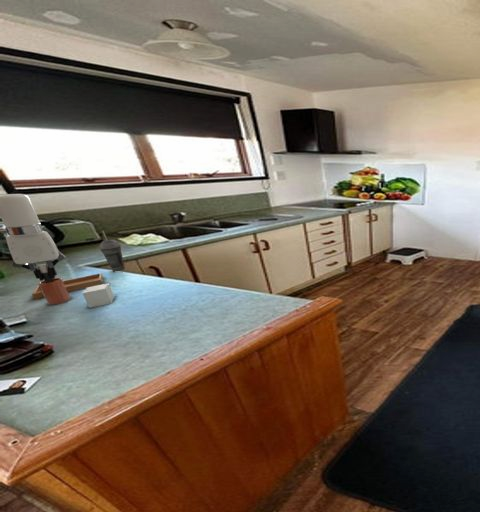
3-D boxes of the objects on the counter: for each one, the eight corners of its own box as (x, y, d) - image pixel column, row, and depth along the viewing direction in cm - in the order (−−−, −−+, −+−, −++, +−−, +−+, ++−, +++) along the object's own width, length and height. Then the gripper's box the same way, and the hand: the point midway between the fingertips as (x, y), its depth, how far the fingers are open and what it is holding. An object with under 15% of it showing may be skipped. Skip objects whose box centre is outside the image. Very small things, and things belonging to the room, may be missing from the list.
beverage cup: (114, 273, 130) (98, 233, 123) (105, 271, 132) (89, 232, 125) (132, 268, 136) (118, 229, 129) (123, 266, 138) (109, 228, 132)
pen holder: (47, 306, 100) (36, 285, 97) (49, 301, 104) (39, 280, 101) (69, 300, 104) (60, 280, 101) (71, 296, 108) (62, 276, 105)
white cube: (114, 297, 106) (109, 283, 104) (111, 302, 101) (105, 288, 99) (93, 301, 102) (87, 287, 101) (88, 308, 98) (82, 293, 96)
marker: (52, 300, 102) (36, 266, 97) (53, 298, 103) (37, 264, 99) (61, 298, 103) (45, 264, 99) (61, 296, 105) (46, 263, 100)
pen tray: (34, 299, 106) (31, 294, 105) (39, 291, 113) (36, 286, 112) (102, 284, 118) (100, 279, 117) (103, 277, 125) (101, 273, 124)
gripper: (-16, 236, 87) (10, 288, 93) (58, 228, 97) (78, 275, 103) (-9, 232, 92) (16, 282, 98) (61, 225, 102) (80, 270, 108)
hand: (48, 278), depth 101 cm, fingers closed on marker, 2 cm apart
